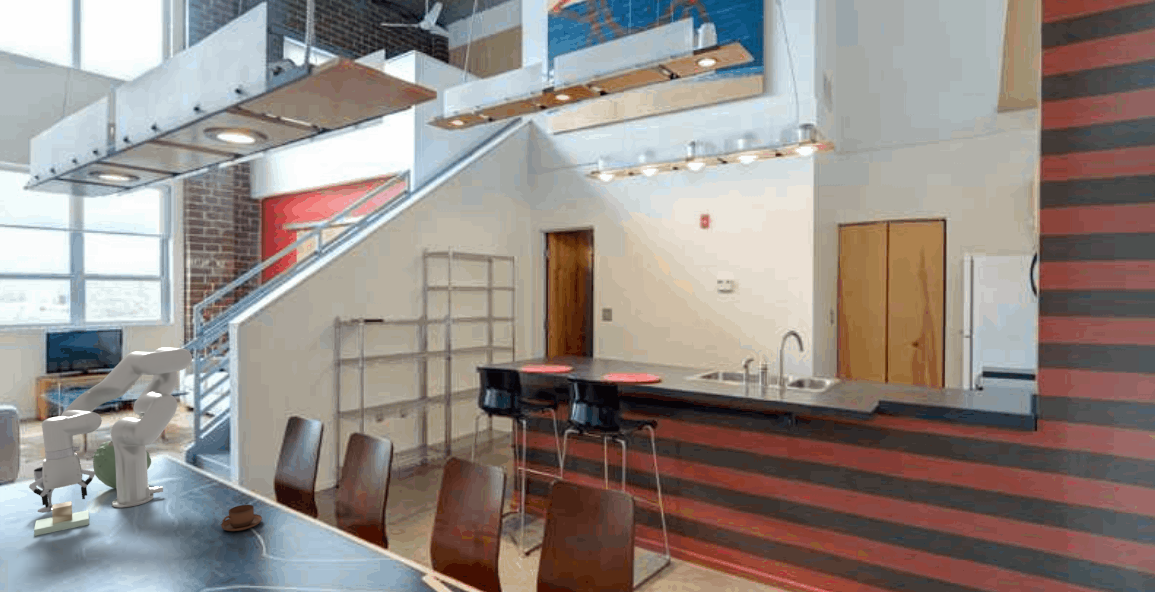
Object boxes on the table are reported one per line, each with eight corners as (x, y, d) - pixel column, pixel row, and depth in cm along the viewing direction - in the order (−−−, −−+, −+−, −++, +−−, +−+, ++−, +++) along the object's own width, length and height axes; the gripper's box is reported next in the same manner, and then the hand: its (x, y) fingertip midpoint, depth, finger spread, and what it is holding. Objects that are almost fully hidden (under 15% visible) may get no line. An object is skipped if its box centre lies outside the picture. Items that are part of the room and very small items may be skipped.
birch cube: (72, 515, 214) (71, 501, 213) (72, 519, 210) (71, 505, 209) (53, 519, 210) (52, 504, 210) (52, 523, 207) (51, 508, 206)
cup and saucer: (244, 535, 200) (243, 517, 199) (212, 533, 202) (211, 514, 202) (270, 520, 211) (269, 503, 211) (239, 518, 214) (238, 501, 214)
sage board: (88, 515, 218) (88, 509, 218) (89, 524, 210) (88, 518, 210) (36, 526, 210) (36, 520, 210) (34, 535, 202) (34, 529, 202)
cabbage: (159, 483, 251) (157, 434, 250) (104, 498, 235) (102, 446, 234) (141, 477, 259) (138, 429, 258) (87, 491, 243) (84, 441, 242)
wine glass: (70, 504, 229) (68, 464, 229) (50, 513, 221) (47, 471, 221) (50, 504, 230) (48, 464, 229) (29, 512, 222) (27, 471, 221)
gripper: (92, 444, 218) (97, 491, 219) (26, 456, 207) (32, 506, 208) (92, 450, 212) (97, 498, 213) (25, 462, 201) (31, 513, 203)
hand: (65, 502), depth 211 cm, fingers open, 9 cm apart
